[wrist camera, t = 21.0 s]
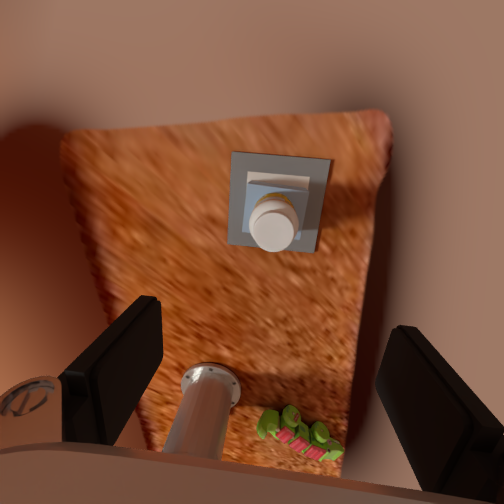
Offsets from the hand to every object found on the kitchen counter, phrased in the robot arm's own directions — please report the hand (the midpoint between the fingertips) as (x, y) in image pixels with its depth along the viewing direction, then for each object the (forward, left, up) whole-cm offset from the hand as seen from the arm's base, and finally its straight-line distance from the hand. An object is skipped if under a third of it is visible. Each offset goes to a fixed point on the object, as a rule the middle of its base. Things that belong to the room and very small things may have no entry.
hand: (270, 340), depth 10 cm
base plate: (0, 0, -30) cm, 30 cm away
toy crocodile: (-46, -11, -31) cm, 56 cm away
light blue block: (0, 0, -30) cm, 30 cm away
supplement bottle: (0, 0, -25) cm, 25 cm away
